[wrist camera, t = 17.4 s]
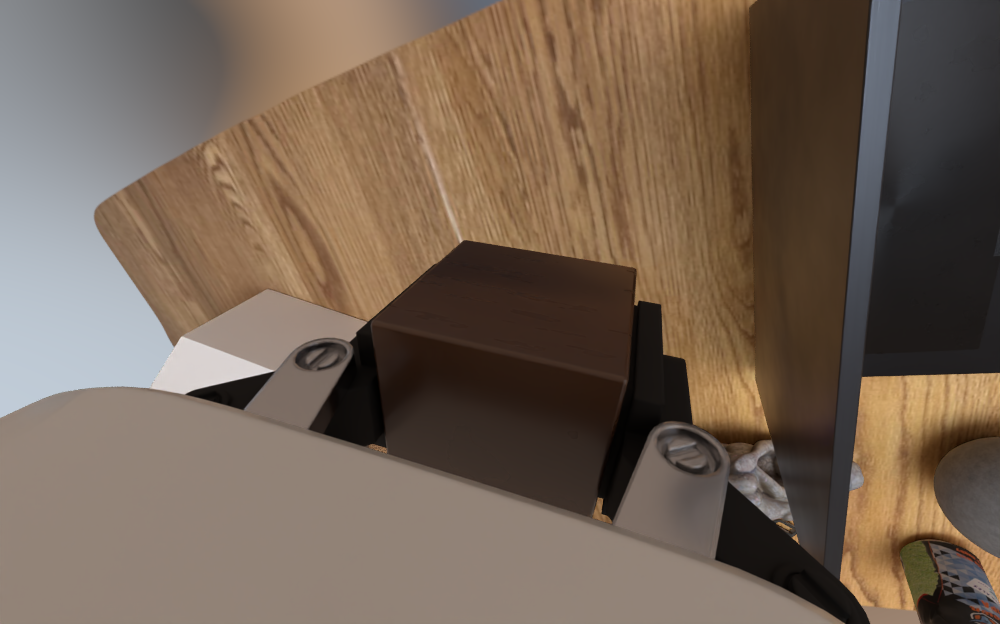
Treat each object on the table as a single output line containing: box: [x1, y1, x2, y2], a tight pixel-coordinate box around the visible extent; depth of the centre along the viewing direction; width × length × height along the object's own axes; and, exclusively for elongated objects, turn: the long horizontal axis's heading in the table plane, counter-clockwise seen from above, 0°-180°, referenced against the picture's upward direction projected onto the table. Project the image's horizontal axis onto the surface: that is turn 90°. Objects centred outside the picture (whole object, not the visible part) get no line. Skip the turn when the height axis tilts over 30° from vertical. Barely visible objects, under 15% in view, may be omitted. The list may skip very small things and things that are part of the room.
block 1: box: [150, 289, 367, 395], centre depth 54 cm, size 18×35×12 cm, turn 107°
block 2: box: [371, 240, 637, 518], centre depth 10 cm, size 5×5×5 cm
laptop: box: [862, 0, 1000, 377], centre depth 30 cm, size 21×30×2 cm
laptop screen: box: [749, 0, 903, 581], centre depth 24 cm, size 21×30×1 cm
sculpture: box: [721, 440, 864, 521], centre depth 42 cm, size 11×18×12 cm
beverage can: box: [900, 539, 1000, 624], centre depth 39 cm, size 6×7×12 cm
